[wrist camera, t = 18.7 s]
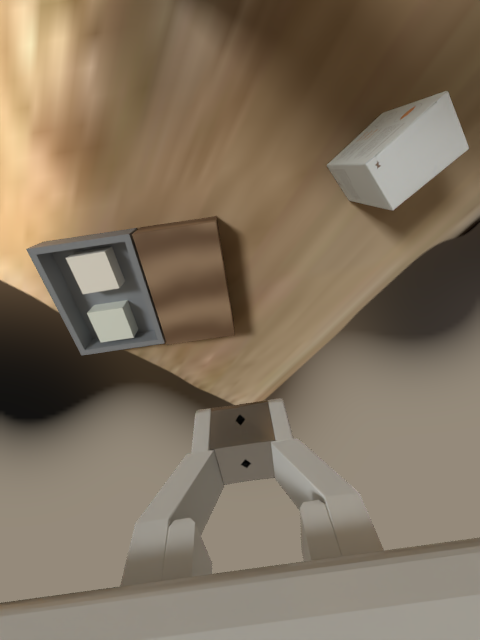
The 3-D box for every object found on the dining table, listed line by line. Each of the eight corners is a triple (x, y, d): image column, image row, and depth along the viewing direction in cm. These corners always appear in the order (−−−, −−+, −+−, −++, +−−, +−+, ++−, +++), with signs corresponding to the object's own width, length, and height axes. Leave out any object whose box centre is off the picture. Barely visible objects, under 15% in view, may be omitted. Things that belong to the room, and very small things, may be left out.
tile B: (122, 307, 38) (127, 300, 40) (86, 313, 38) (93, 304, 40) (133, 337, 40) (138, 328, 43) (100, 342, 41) (106, 333, 43)
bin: (42, 241, 36) (26, 249, 33) (136, 228, 36) (129, 233, 33) (91, 342, 44) (81, 355, 41) (168, 330, 44) (164, 343, 41)
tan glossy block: (140, 227, 36) (132, 234, 32) (216, 216, 36) (215, 221, 32) (171, 330, 44) (167, 344, 40) (233, 321, 44) (234, 335, 40)
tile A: (104, 251, 34) (111, 246, 36) (65, 258, 34) (74, 252, 36) (119, 288, 37) (125, 281, 39) (82, 294, 37) (90, 287, 39)
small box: (347, 201, 36) (391, 213, 27) (324, 164, 34) (363, 164, 24) (404, 153, 34) (472, 149, 24) (383, 110, 31) (450, 88, 22)
